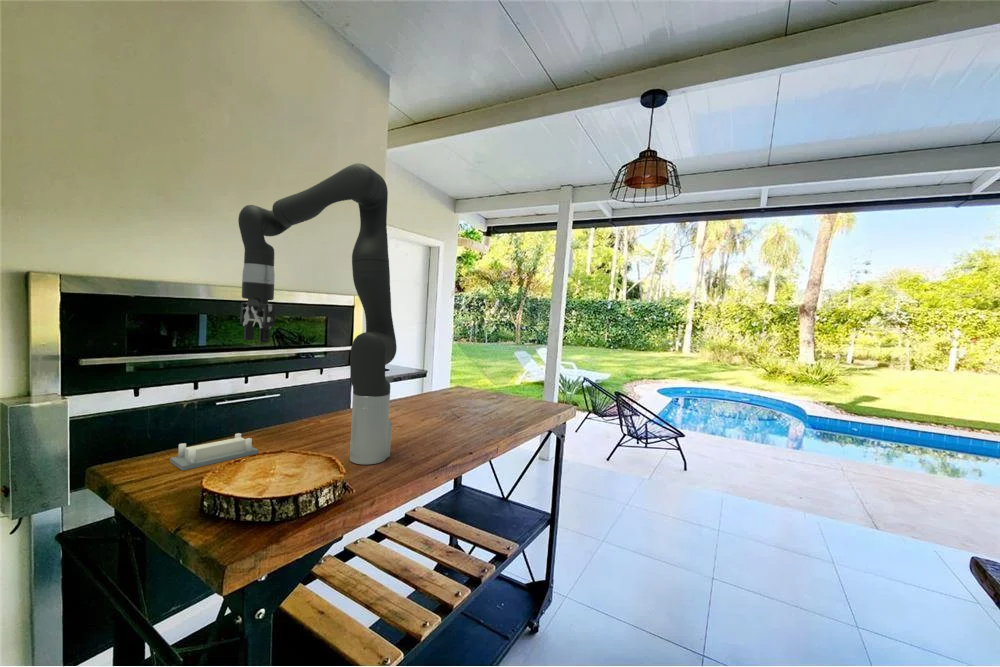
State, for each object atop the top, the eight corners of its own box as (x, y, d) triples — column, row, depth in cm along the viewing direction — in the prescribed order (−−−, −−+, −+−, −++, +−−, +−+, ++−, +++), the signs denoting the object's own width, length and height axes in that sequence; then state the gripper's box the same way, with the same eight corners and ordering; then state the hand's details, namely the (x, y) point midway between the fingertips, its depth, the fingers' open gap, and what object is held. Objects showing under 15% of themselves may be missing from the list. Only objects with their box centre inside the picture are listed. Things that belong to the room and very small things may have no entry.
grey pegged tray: (244, 446, 107) (244, 431, 107) (258, 453, 103) (258, 438, 103) (170, 462, 94) (170, 445, 94) (182, 470, 90) (182, 453, 90)
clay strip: (240, 446, 104) (240, 437, 104) (245, 449, 103) (246, 439, 103) (184, 458, 95) (184, 447, 94) (189, 461, 93) (190, 450, 93)
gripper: (286, 283, 109) (283, 343, 109) (260, 283, 117) (258, 339, 117) (256, 280, 102) (254, 343, 103) (231, 280, 110) (229, 339, 111)
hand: (256, 341), depth 110 cm, fingers open, 8 cm apart
